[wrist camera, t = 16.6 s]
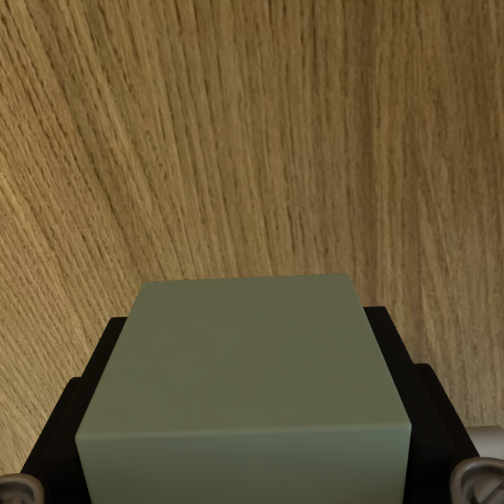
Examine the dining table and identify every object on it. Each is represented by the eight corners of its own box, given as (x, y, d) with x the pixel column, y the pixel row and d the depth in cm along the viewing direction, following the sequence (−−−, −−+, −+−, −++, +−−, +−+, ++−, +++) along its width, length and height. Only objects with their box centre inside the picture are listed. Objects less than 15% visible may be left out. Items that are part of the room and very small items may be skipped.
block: (349, 271, 10) (414, 425, 6) (343, 430, 12) (389, 629, 8) (142, 280, 10) (71, 437, 6) (166, 436, 12) (124, 637, 8)
